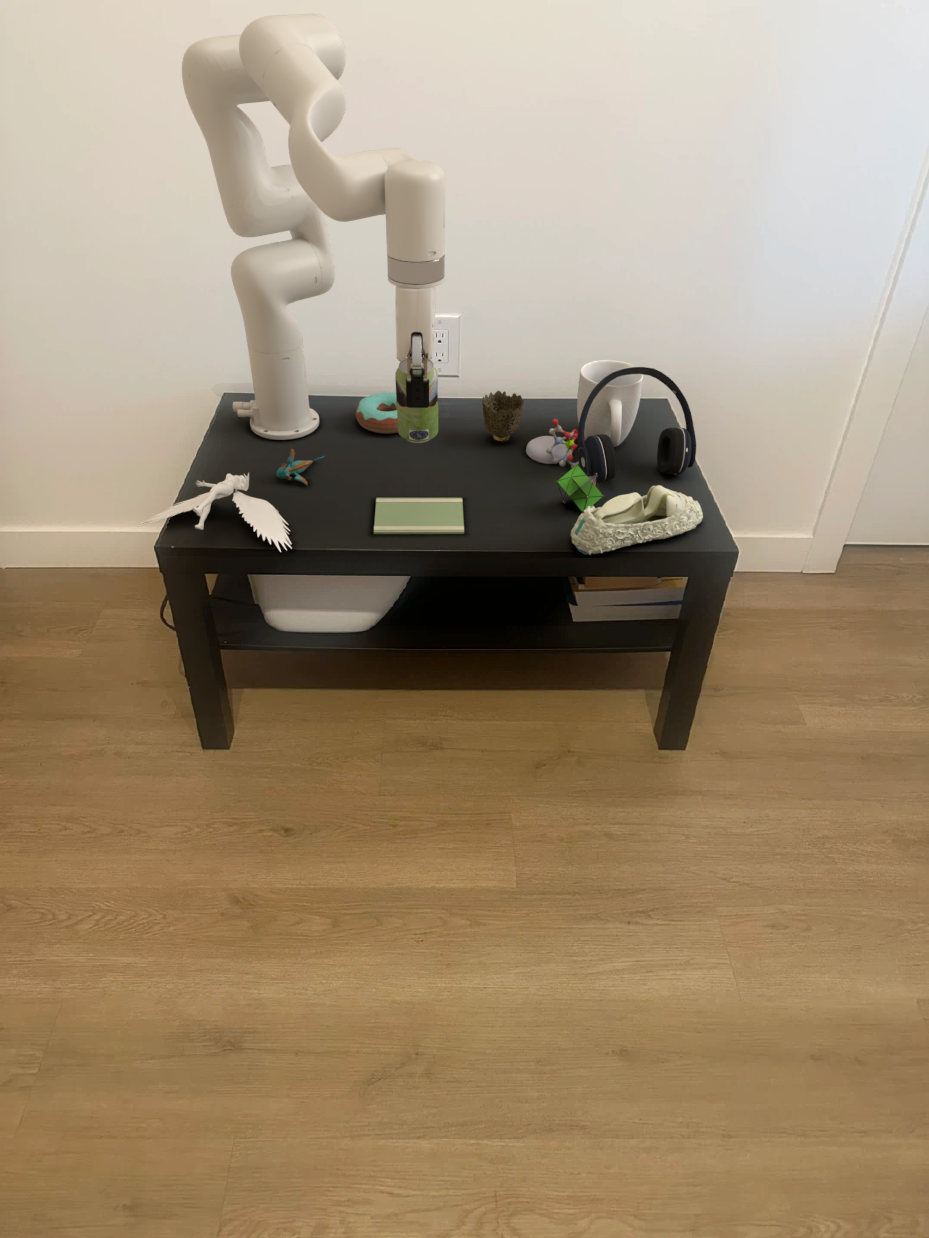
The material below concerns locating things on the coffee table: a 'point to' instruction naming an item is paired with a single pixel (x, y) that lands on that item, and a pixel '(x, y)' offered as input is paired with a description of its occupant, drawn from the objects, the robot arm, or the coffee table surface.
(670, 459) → the earphone
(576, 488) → the green polyhedron model
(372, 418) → the donut
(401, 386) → the beverage can
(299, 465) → the dragon figurine
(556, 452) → the white pebble
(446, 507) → the towel mat
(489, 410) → the cup
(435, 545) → the coffee table surface
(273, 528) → the figurine
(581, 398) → the mug
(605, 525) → the ballet flat
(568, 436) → the molecular model
